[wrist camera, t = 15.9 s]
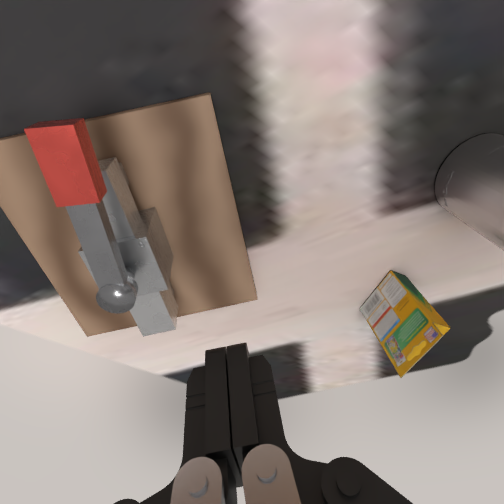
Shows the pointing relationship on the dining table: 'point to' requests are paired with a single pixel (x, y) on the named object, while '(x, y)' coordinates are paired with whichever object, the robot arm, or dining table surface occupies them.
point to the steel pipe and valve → (140, 252)
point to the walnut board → (141, 208)
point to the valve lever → (84, 205)
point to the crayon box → (403, 321)
